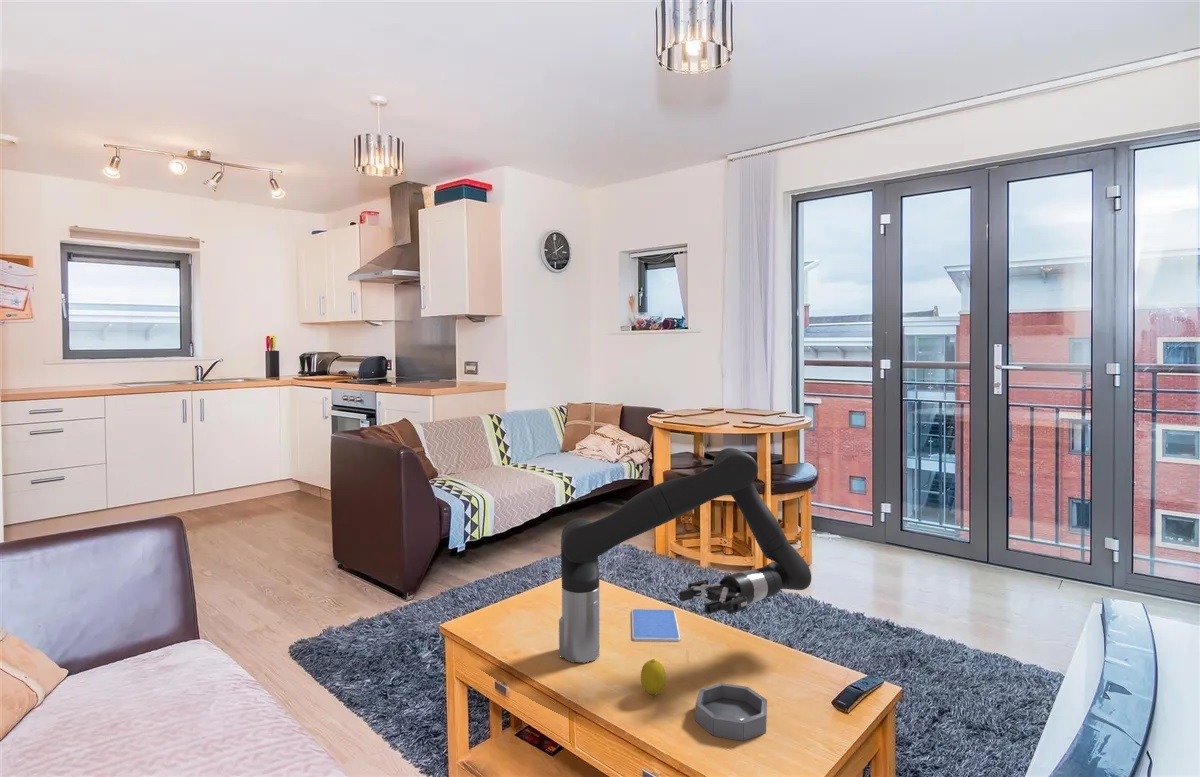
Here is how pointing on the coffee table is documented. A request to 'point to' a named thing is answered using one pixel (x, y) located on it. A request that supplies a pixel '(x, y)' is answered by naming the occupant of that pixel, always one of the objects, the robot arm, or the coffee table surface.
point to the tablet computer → (654, 625)
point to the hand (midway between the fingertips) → (692, 602)
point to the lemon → (653, 677)
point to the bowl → (731, 711)
